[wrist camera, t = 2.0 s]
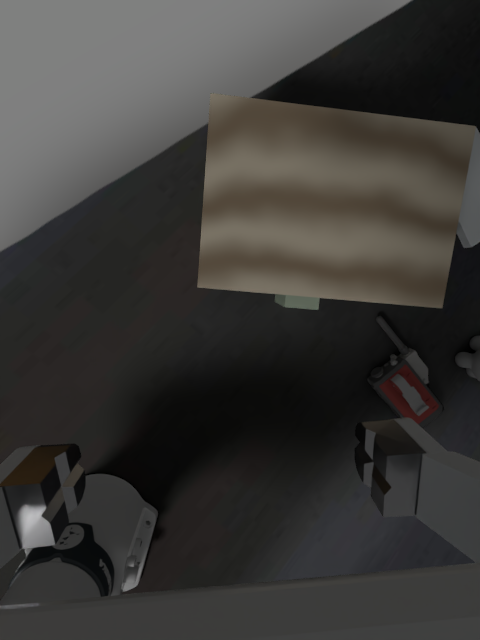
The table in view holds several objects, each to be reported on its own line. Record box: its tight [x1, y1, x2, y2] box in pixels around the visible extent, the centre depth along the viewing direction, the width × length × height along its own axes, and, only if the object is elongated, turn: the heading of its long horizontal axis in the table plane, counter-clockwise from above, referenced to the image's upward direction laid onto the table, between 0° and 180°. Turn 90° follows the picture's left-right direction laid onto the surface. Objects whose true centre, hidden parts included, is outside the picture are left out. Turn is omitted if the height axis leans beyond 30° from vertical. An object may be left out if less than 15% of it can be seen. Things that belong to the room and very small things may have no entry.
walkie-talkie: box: [367, 316, 444, 429], centre depth 48 cm, size 9×4×20 cm
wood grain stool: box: [198, 93, 476, 308], centre depth 38 cm, size 18×26×16 cm
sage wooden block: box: [275, 294, 320, 310], centre depth 43 cm, size 4×4×8 cm
